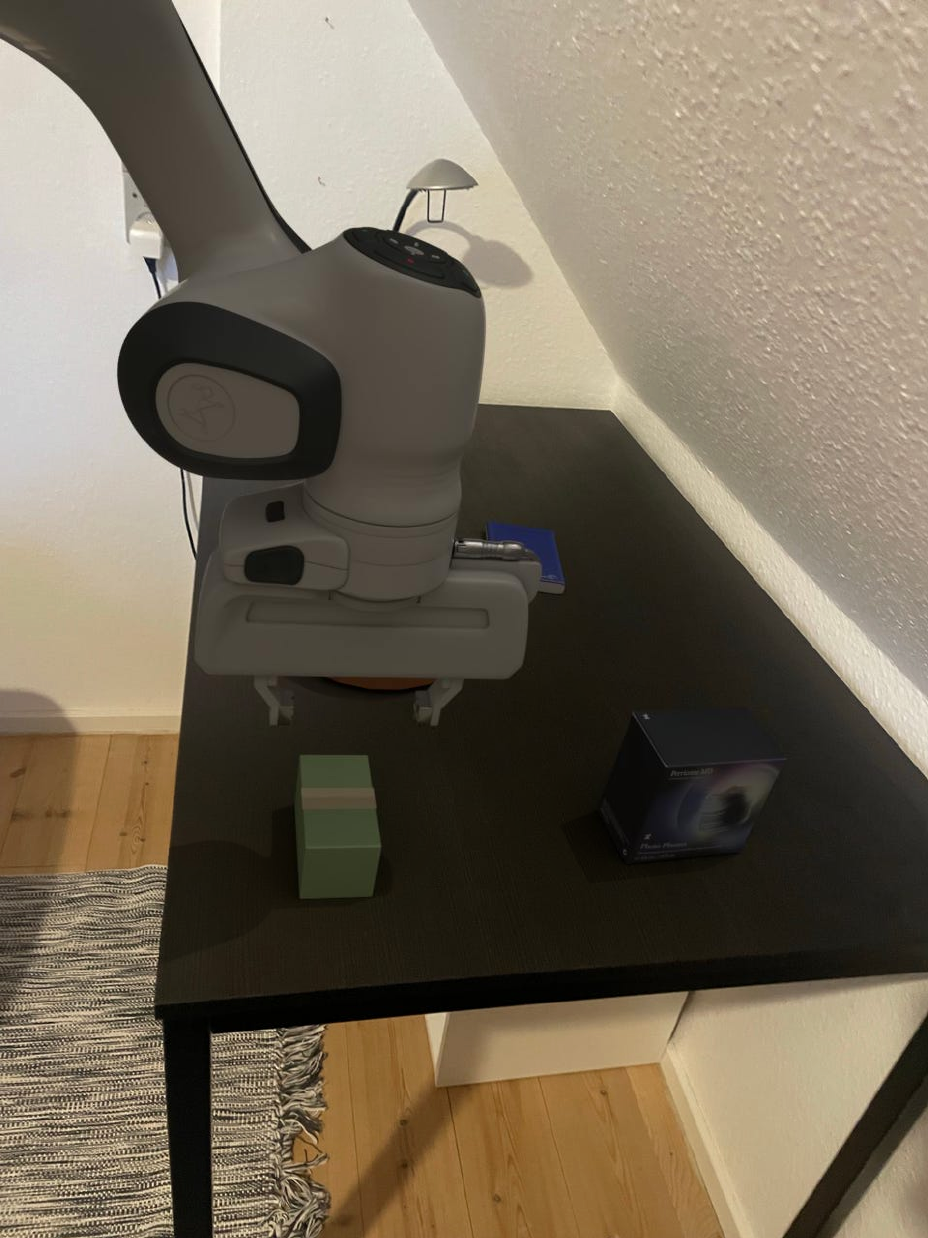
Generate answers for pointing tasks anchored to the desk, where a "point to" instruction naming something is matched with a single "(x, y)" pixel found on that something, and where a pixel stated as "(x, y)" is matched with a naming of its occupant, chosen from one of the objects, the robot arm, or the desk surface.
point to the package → (336, 827)
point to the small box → (688, 783)
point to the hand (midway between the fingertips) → (353, 719)
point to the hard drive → (537, 543)
